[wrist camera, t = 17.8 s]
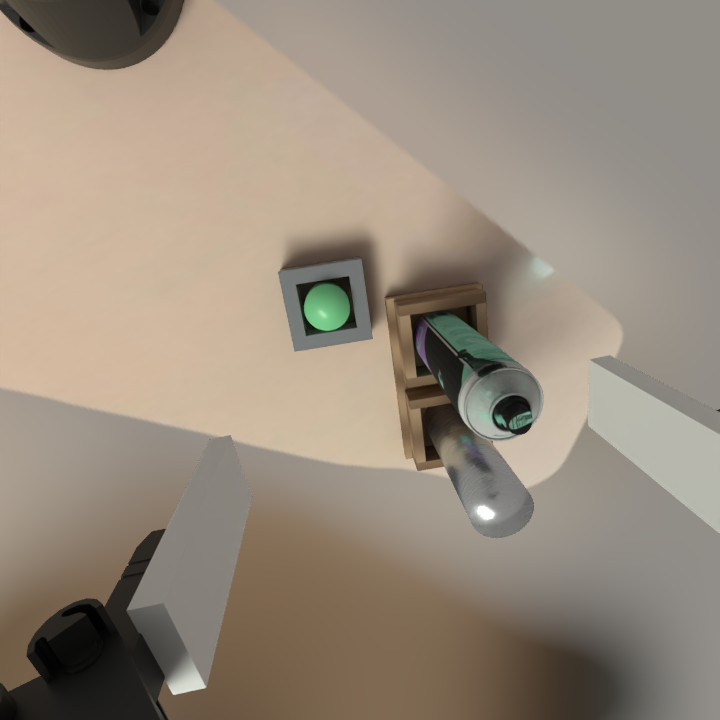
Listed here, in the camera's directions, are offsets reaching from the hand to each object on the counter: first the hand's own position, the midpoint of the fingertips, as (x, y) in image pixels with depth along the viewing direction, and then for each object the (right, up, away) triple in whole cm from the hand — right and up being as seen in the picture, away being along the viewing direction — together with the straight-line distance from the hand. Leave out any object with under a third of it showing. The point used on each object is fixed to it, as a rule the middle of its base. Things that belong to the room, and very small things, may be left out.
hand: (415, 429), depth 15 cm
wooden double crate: (+7, +1, +31) cm, 32 cm away
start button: (-5, +8, +27) cm, 29 cm away
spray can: (+6, +5, +29) cm, 30 cm away
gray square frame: (-5, +9, +28) cm, 30 cm away
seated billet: (+8, -4, +32) cm, 33 cm away
